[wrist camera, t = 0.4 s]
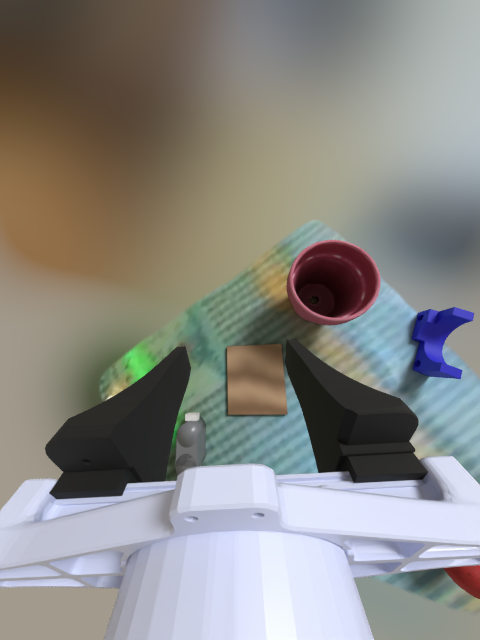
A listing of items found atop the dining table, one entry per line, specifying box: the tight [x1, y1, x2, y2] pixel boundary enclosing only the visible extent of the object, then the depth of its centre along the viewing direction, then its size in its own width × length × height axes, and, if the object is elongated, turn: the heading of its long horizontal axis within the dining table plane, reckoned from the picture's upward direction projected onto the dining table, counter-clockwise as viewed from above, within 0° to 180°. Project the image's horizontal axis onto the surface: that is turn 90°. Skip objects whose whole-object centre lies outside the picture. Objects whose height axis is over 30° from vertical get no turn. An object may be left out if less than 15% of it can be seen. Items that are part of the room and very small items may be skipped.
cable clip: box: [412, 307, 474, 379], centre depth 34 cm, size 12×4×6 cm, turn 156°
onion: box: [444, 565, 480, 599], centre depth 26 cm, size 6×6×8 cm
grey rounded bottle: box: [175, 413, 206, 475], centre depth 36 cm, size 10×4×5 cm, turn 1°
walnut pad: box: [227, 344, 287, 415], centre depth 39 cm, size 14×12×1 cm
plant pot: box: [287, 240, 380, 325], centre depth 36 cm, size 14×14×13 cm
